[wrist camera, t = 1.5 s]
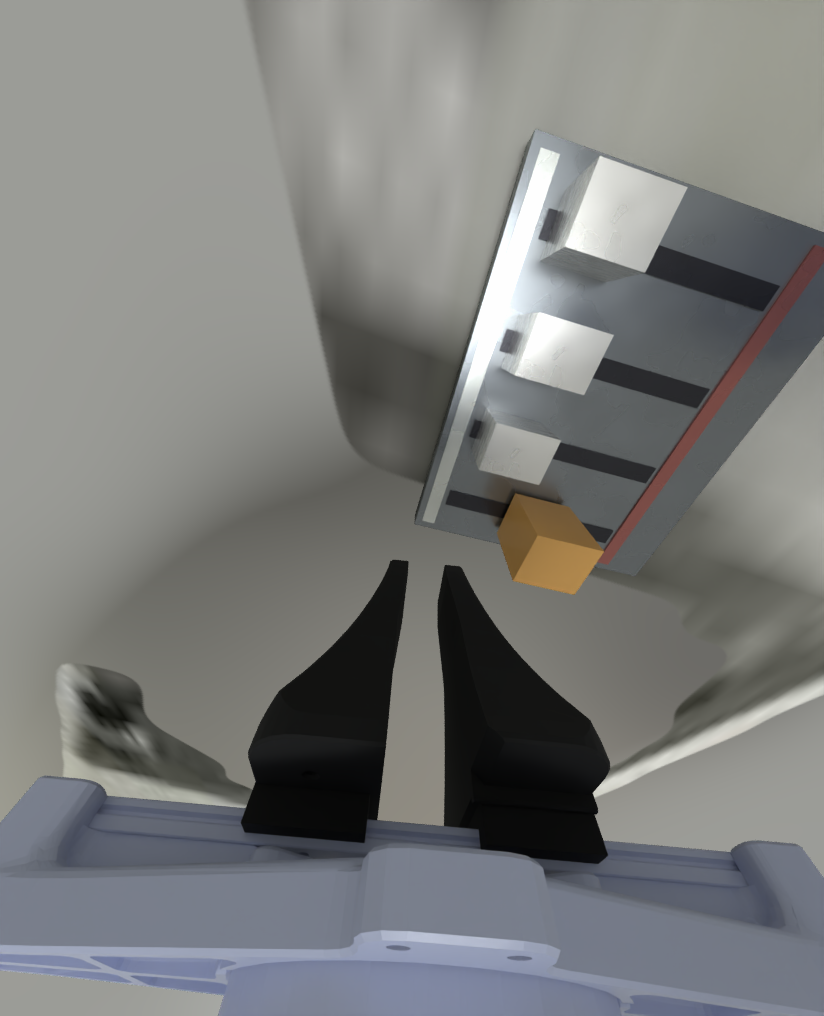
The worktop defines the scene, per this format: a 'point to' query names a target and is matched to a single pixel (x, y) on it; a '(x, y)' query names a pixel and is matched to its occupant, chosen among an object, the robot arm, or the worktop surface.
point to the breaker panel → (619, 349)
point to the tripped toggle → (547, 545)
